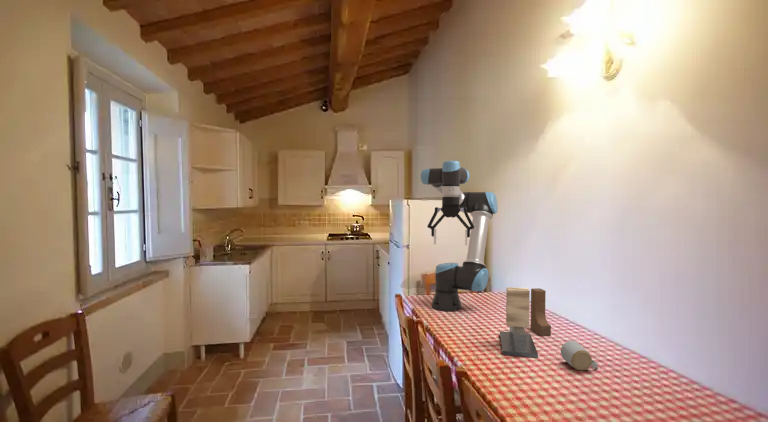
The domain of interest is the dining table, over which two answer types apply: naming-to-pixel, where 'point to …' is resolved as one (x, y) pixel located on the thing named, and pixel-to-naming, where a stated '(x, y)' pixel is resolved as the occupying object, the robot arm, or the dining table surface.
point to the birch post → (517, 307)
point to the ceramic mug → (577, 356)
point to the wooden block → (539, 313)
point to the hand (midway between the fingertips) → (450, 244)
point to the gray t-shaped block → (518, 343)
